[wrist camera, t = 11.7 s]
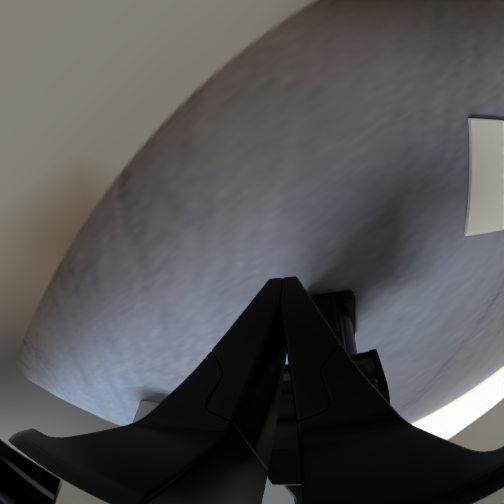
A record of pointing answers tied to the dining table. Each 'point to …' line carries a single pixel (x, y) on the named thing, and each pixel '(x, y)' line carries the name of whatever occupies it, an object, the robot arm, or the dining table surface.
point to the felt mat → (485, 177)
